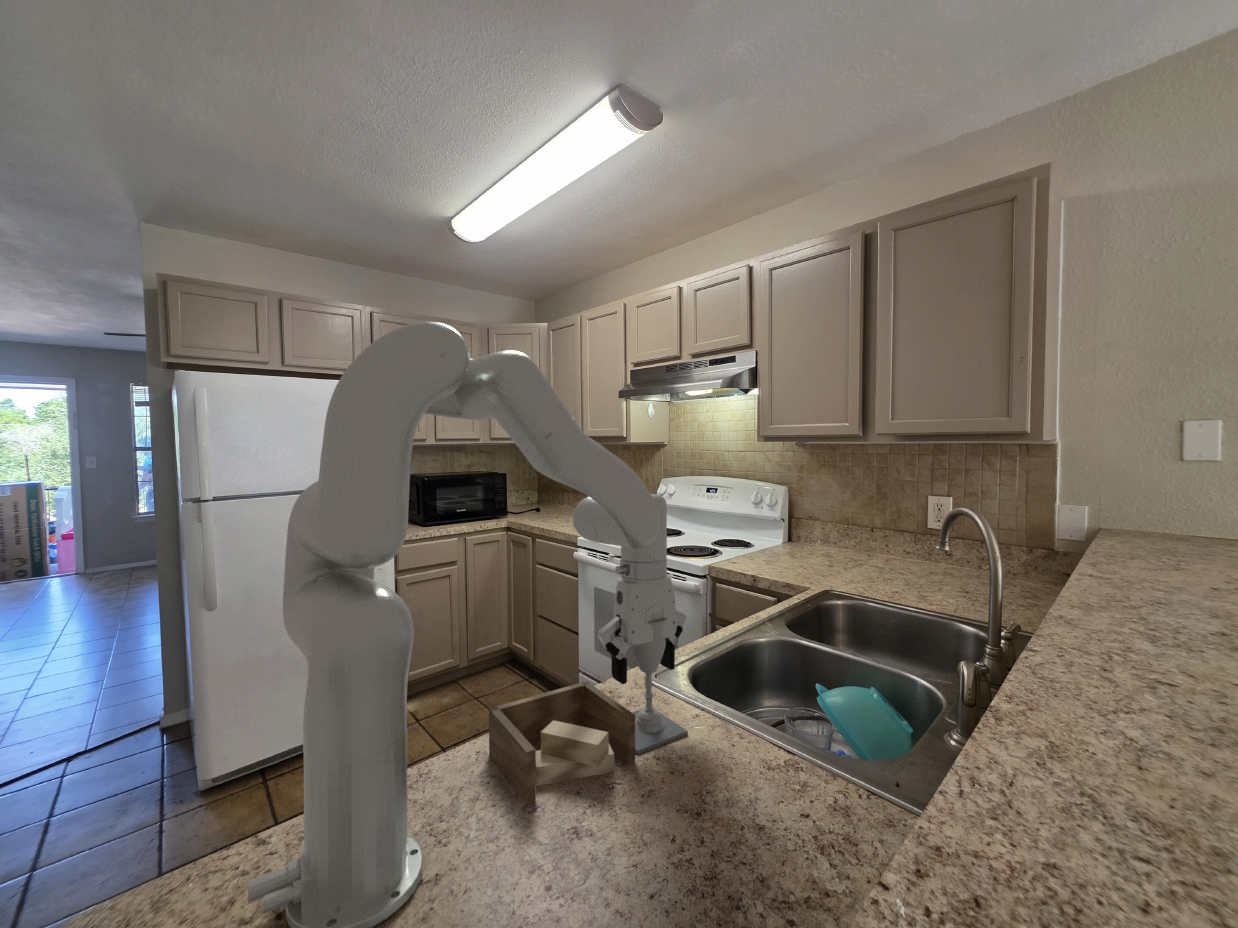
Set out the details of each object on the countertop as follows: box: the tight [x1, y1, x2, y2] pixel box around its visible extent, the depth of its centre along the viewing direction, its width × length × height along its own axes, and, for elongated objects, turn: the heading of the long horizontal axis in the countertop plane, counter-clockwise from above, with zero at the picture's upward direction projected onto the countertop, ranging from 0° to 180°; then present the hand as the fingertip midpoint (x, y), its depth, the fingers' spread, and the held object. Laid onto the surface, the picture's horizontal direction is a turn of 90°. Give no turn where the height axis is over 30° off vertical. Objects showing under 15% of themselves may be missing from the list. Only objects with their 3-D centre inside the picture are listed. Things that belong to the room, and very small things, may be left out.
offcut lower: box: [535, 744, 615, 787], centre depth 73 cm, size 11×4×3 cm, turn 106°
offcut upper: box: [540, 720, 609, 767], centre depth 73 cm, size 9×4×3 cm, turn 68°
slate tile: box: [631, 709, 689, 755], centre depth 83 cm, size 10×10×1 cm
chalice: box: [630, 619, 667, 733], centre depth 84 cm, size 7×7×18 cm
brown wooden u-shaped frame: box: [488, 680, 636, 808], centre depth 75 cm, size 17×14×7 cm
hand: (644, 673), depth 83 cm, fingers open, 9 cm apart
